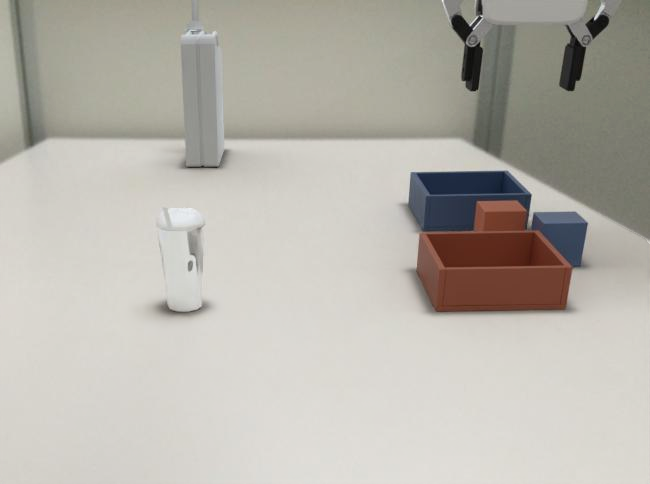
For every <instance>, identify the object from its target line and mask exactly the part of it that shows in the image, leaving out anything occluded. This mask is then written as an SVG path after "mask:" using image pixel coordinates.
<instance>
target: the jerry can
mask: <svg viewBox="0 0 650 484" xmlns="http://www.w3.org/2000/svg"><path fill="white" fill-rule="evenodd" d="M199 2H200V1H199V0H191V21H190V22H189V23H186V26H185V29H184V33H185V34H181V36H180V58H181V59H180V60H181V81H182V82H181V83H182V100H183V101H182V104H183V105H182V106H183V123H184V125H183V126H184V144H185V145H184V146H185V165H186V167H187V168H195V167H196V168H201V167H204V168H208V167H209V168H211V167H212V168H216V167H219V166H220V164H221V161H222V158H223V156H224V152H225V122H224V121H225V119H224V117H225V116H224V86H223V80H224V79H223V54H222V49H221V46H220V45H219V34H218V31H216V30H213V31H212V32H211V33H207V32H205V31H204V26H203V23H201V22H200V13H199V12H200V10H199V7H200V6H199Z"/></svg>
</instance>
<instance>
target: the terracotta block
mask: <svg viewBox="0 0 650 484" xmlns="http://www.w3.org/2000/svg"><path fill="white" fill-rule="evenodd" d="M526 216H527V210H526V209H525V208H524V207H523V206H522V205H521V204H520V203H519V202H518V201H477V205H476V214H475V223H474V230H473V232H478V231H526V229H525V223H526Z"/></svg>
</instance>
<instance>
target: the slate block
mask: <svg viewBox="0 0 650 484" xmlns="http://www.w3.org/2000/svg"><path fill="white" fill-rule="evenodd" d="M588 226H589V222H588V221H586V220H585V218H583V217H582V216H581V214H579V213H578V212H577V211H576V210H575V211H533V212H532V220H531V226H530V231H534V230H539V231H540V232H541V233H542V235H543V236H544V237H545V238H546V239H547V240H548V241H549V242H550V243H551V244H552V245H553V246H554V248H555V249H556V250H557V251H558V252H559V253H560V254H561V255H562V256H563V257H564V258H565V259H566V261H567V262H568V263H569V264H570V265H571V266H572V267H581V266H582V260H583V254H584V249H585V242H586V238H587V232H588Z"/></svg>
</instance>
